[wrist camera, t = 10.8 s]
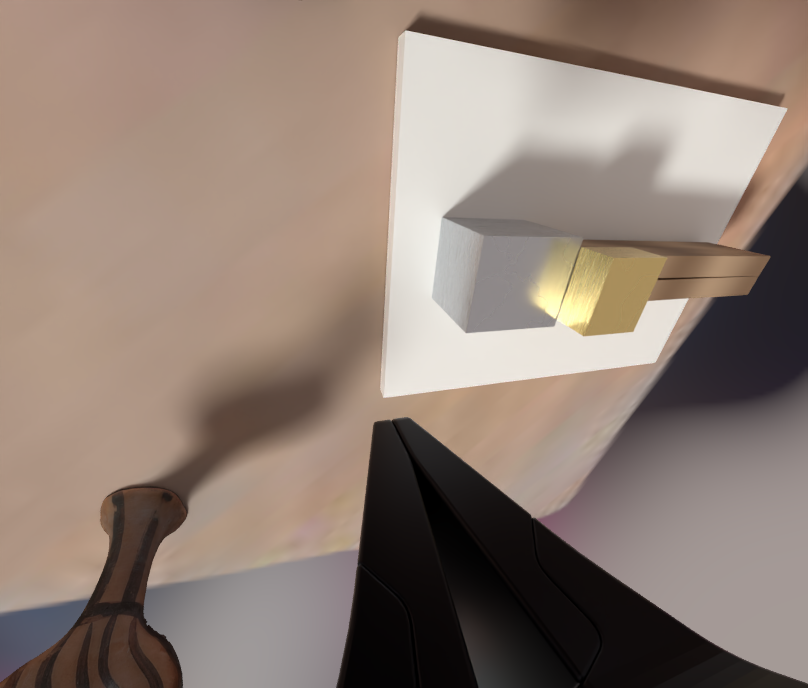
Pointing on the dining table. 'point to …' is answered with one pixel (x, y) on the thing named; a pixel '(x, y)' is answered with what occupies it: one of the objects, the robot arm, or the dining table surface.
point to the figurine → (116, 608)
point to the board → (546, 193)
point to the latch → (609, 289)
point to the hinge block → (502, 273)
